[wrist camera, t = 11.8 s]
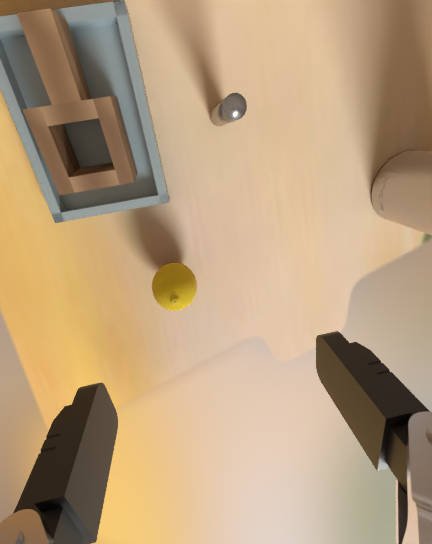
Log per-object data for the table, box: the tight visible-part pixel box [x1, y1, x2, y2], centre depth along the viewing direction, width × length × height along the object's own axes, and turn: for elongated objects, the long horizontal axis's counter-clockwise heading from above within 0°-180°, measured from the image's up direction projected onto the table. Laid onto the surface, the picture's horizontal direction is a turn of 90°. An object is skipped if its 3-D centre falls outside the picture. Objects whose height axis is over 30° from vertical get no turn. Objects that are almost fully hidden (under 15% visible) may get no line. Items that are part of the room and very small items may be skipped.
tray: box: [0, 0, 169, 223], centre depth 29 cm, size 13×18×2 cm
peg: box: [210, 93, 247, 126], centre depth 28 cm, size 2×2×9 cm
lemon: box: [152, 263, 196, 311], centre depth 35 cm, size 6×6×8 cm
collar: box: [17, 8, 138, 195], centre depth 27 cm, size 8×14×4 cm, turn 7°
